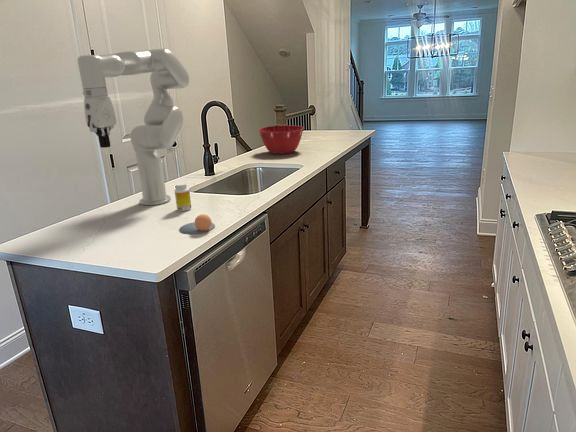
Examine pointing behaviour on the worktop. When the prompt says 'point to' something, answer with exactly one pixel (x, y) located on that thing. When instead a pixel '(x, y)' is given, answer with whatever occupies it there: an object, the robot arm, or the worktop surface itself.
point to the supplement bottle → (182, 197)
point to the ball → (203, 222)
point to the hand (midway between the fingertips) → (105, 147)
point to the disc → (193, 229)
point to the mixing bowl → (281, 138)
